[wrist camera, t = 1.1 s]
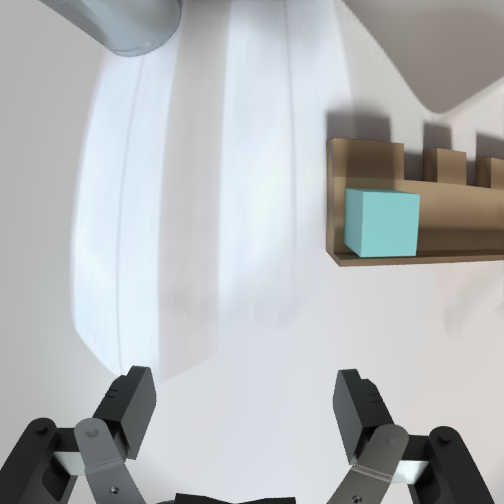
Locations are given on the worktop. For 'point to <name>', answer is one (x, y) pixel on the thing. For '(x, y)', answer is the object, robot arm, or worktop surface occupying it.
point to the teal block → (381, 222)
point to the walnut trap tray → (431, 201)
